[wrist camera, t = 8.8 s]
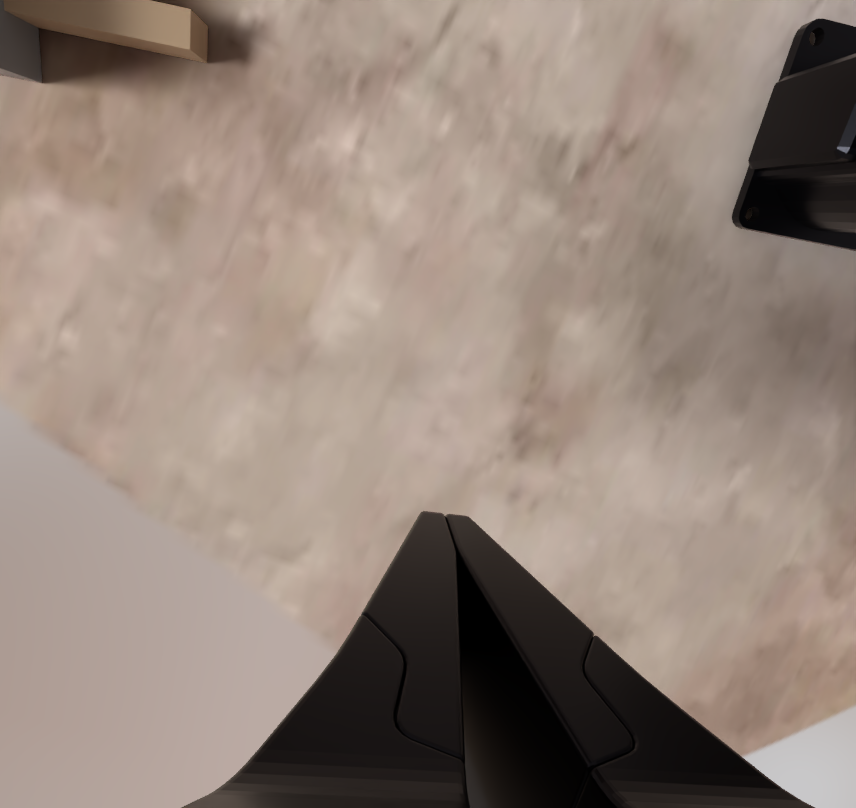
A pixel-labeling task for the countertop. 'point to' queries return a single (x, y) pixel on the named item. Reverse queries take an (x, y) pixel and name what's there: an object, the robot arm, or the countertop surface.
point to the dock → (96, 29)
